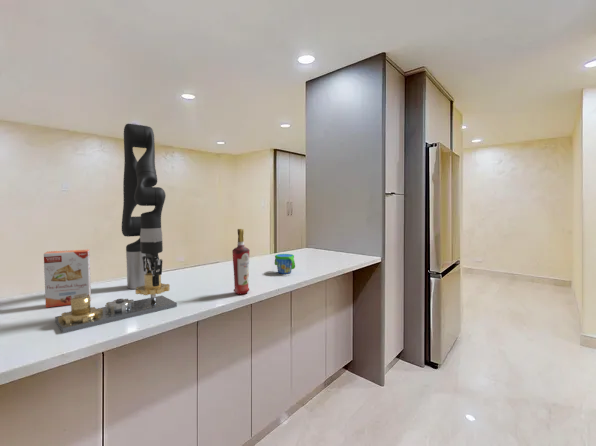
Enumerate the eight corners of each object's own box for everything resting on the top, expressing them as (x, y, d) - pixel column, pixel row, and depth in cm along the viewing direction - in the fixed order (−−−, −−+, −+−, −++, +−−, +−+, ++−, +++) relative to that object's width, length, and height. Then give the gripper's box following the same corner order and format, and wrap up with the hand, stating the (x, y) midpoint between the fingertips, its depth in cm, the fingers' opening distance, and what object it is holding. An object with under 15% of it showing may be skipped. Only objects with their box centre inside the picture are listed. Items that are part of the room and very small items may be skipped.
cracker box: (45, 308, 118) (42, 253, 117) (49, 304, 123) (46, 251, 122) (89, 303, 124) (87, 250, 123) (91, 299, 130) (89, 248, 129)
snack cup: (300, 274, 175) (300, 255, 175) (284, 276, 169) (284, 257, 169) (284, 269, 188) (284, 252, 187) (269, 271, 182) (269, 254, 181)
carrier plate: (55, 321, 105) (54, 297, 104) (162, 299, 129) (161, 279, 129) (62, 333, 95) (61, 307, 94) (176, 306, 119) (176, 285, 119)
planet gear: (130, 290, 120) (130, 274, 120) (162, 285, 128) (162, 269, 128) (141, 297, 111) (141, 278, 111) (175, 290, 120) (174, 273, 119)
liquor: (243, 289, 143) (242, 228, 141) (253, 293, 138) (252, 229, 136) (229, 293, 138) (228, 229, 136) (239, 296, 133) (238, 230, 131)
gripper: (134, 239, 121) (135, 283, 122) (148, 242, 111) (149, 290, 112) (154, 238, 127) (155, 280, 127) (169, 240, 116) (170, 286, 117)
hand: (152, 284), depth 120 cm, fingers closed on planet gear, 5 cm apart
